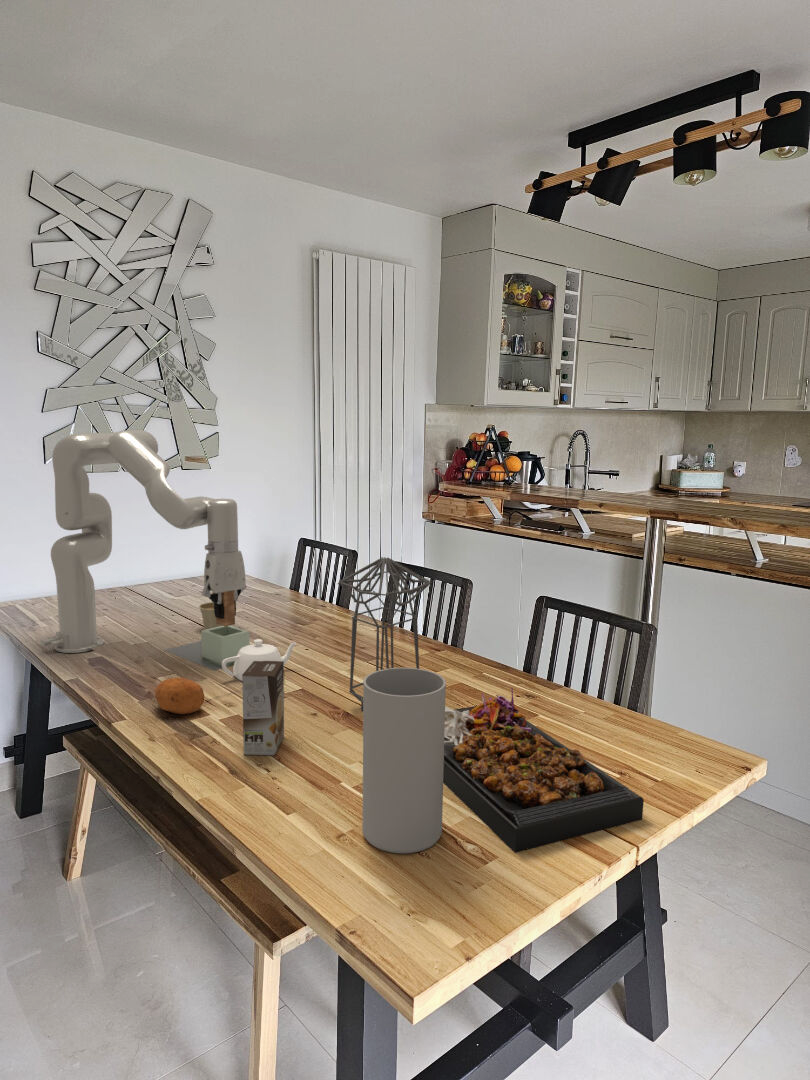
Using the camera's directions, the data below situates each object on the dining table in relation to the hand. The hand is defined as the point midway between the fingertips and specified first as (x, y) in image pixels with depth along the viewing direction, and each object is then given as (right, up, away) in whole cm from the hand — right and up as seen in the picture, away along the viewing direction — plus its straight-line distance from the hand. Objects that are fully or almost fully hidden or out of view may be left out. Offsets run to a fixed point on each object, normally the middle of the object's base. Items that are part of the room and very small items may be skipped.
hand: (225, 615), depth 193 cm
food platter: (+65, -24, -56) cm, 90 cm away
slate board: (-6, -12, +7) cm, 15 cm away
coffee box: (+19, -21, -46) cm, 54 cm away
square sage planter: (0, -12, +2) cm, 12 cm away
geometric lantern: (+42, -19, -28) cm, 54 cm away
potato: (-3, -18, -30) cm, 35 cm away
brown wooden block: (0, -2, 0) cm, 2 cm away
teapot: (+11, -15, -9) cm, 21 cm away
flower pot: (-10, -8, +29) cm, 32 cm away
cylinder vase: (+46, -27, -77) cm, 93 cm away
